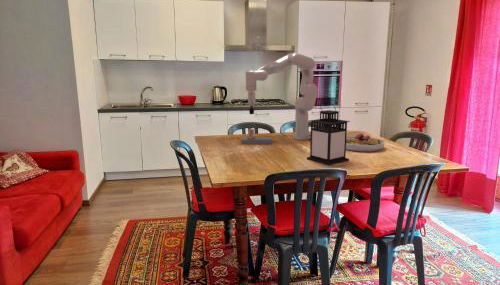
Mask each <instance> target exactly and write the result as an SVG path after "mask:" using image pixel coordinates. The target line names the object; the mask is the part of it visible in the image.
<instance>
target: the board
mask: <svg viewBox="0 0 500 285" xmlns="http://www.w3.org/2000/svg"><path fill="white" fill-rule="evenodd" d="M240 142H241V144H240V145H273V137H272V136H254V139H249V136H242V137H241V140H240Z"/></svg>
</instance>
